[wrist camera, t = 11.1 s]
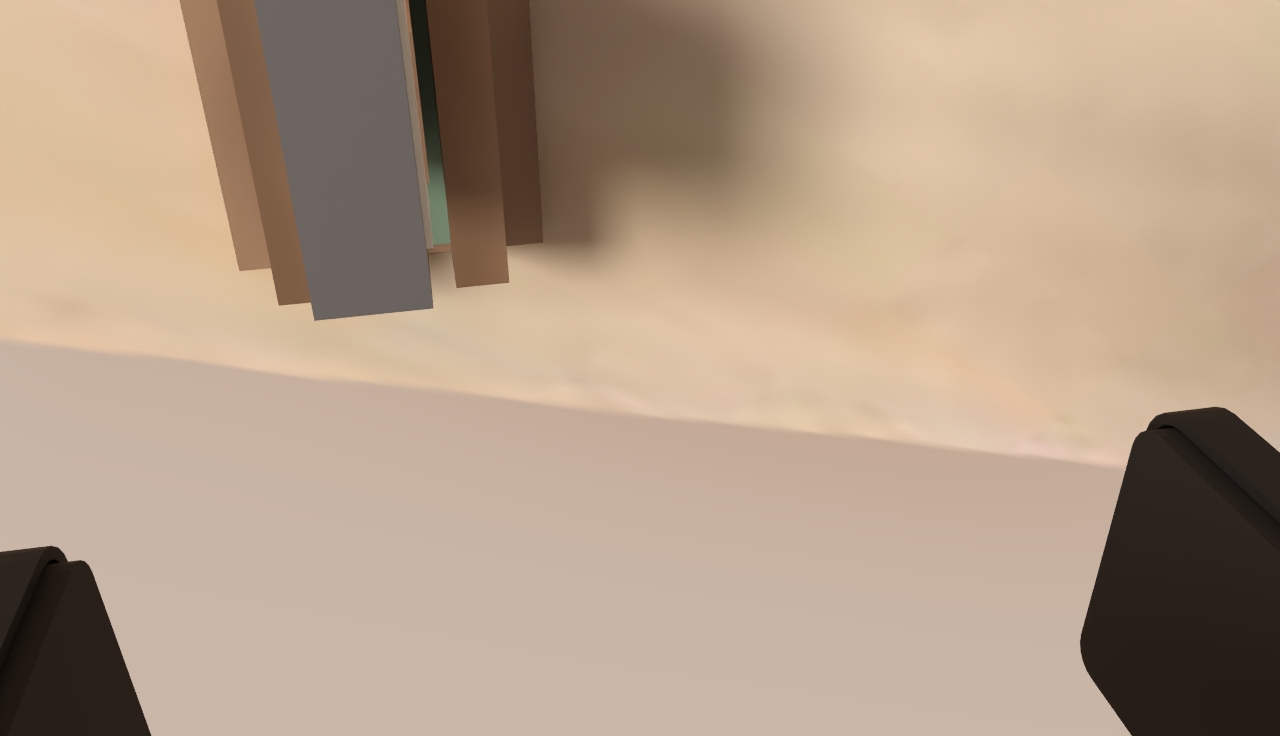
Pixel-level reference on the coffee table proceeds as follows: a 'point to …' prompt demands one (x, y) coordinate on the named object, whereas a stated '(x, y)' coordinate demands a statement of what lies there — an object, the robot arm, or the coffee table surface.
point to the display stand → (452, 122)
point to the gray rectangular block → (352, 150)
